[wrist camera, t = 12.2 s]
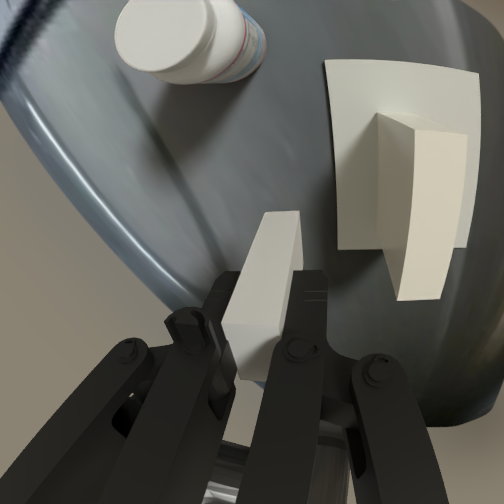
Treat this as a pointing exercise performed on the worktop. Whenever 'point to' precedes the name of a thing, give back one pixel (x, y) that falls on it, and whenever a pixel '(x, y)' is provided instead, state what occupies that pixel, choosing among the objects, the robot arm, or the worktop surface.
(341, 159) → the mat
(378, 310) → the worktop surface
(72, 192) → the worktop surface
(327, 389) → the robot arm
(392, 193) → the cream rectangular block
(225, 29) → the pill bottle
